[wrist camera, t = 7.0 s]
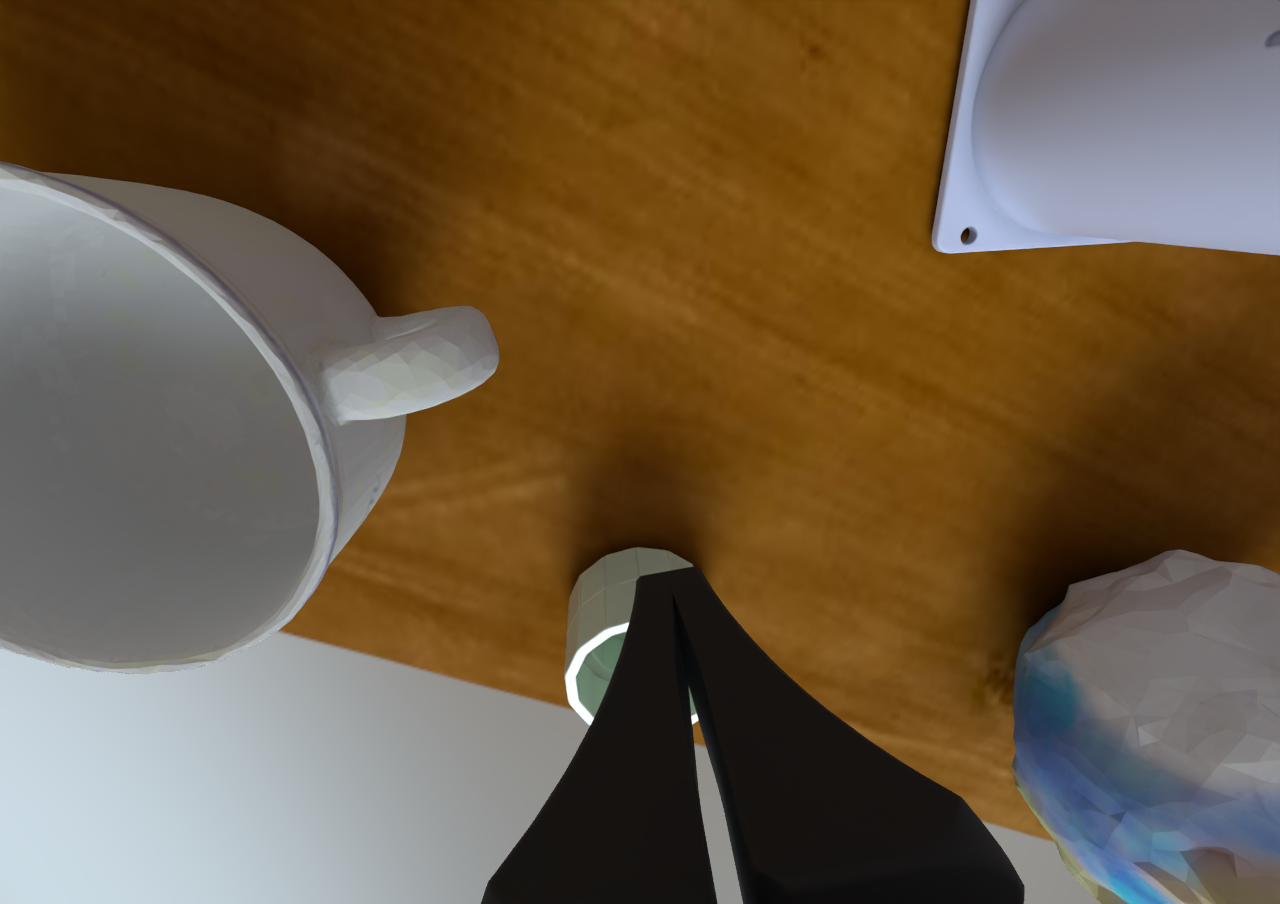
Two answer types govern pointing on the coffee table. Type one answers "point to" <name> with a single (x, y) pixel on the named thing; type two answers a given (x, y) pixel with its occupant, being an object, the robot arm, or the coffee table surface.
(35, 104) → the coffee table surface
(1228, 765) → the decorative rock
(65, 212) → the teacup
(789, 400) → the coffee table surface
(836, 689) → the coffee table surface
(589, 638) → the pale green handleless cup
